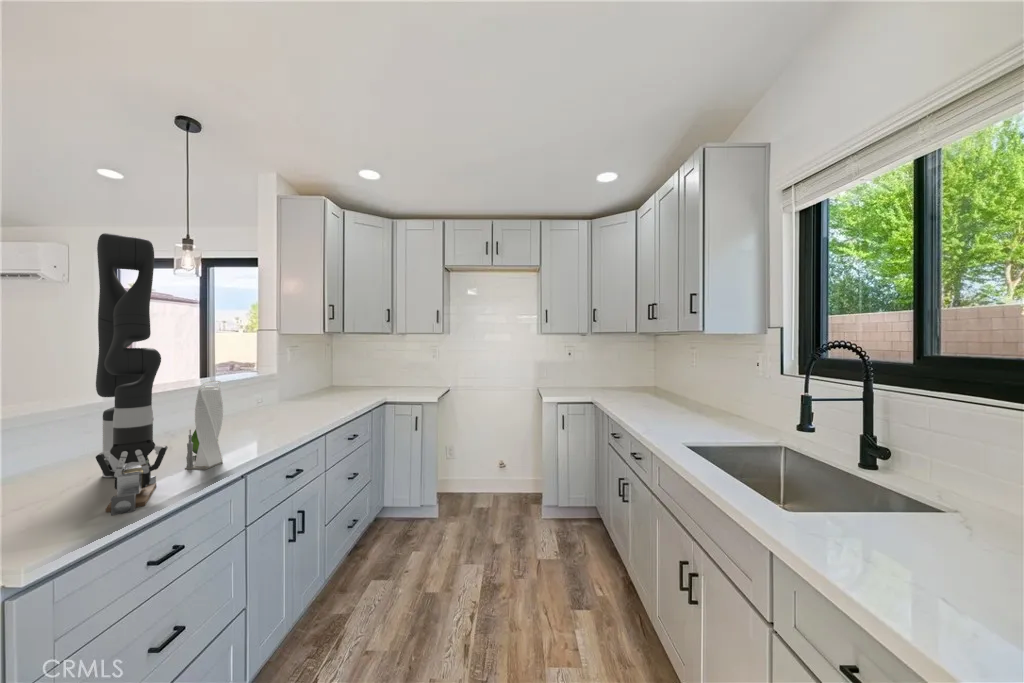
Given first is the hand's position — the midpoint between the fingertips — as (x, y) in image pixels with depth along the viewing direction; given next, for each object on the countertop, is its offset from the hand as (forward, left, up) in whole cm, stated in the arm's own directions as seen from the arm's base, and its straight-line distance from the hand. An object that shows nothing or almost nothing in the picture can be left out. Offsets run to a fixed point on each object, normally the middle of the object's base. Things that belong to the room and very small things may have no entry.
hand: (133, 488), depth 102 cm
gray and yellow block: (0, 0, 0) cm, 0 cm away
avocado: (-39, +12, -3) cm, 41 cm away
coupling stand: (0, 0, -3) cm, 3 cm away
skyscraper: (-23, +14, -3) cm, 27 cm away
